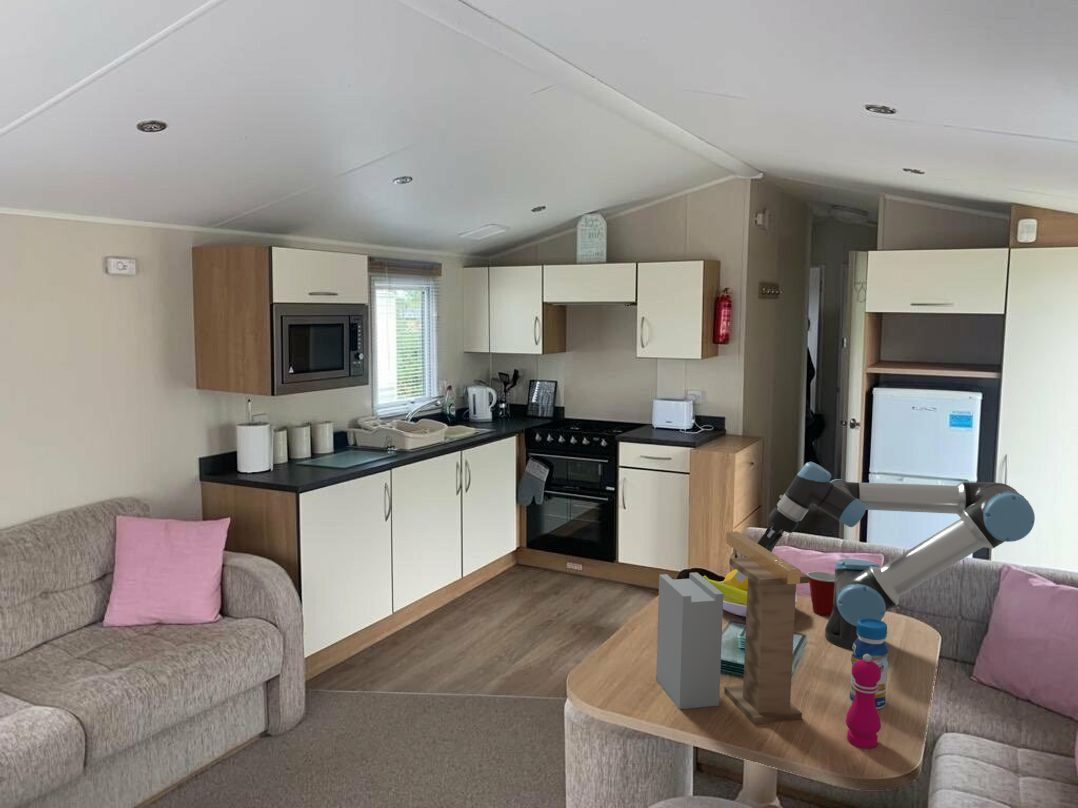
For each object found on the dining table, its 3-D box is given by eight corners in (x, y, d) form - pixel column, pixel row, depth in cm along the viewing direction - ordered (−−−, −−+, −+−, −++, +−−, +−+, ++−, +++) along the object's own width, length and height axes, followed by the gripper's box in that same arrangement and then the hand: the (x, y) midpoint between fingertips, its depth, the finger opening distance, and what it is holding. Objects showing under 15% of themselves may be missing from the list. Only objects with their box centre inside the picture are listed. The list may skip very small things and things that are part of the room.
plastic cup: (845, 610, 271) (847, 573, 270) (836, 621, 262) (839, 582, 261) (810, 603, 277) (811, 567, 275) (800, 614, 268) (802, 576, 266)
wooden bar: (726, 543, 222) (726, 531, 222) (737, 542, 223) (737, 531, 223) (787, 584, 191) (788, 571, 191) (799, 583, 192) (800, 570, 192)
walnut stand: (724, 692, 214) (729, 558, 210) (769, 688, 217) (775, 555, 212) (753, 724, 198) (760, 579, 194) (801, 719, 201) (809, 576, 197)
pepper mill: (884, 750, 188) (890, 661, 185) (850, 749, 188) (856, 660, 185) (872, 733, 195) (878, 647, 192) (840, 732, 195) (845, 647, 193)
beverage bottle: (889, 700, 211) (895, 621, 208) (881, 714, 204) (886, 632, 201) (853, 691, 216) (858, 613, 213) (844, 704, 209) (849, 624, 206)
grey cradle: (656, 679, 221) (659, 574, 217) (693, 676, 223) (697, 572, 219) (679, 709, 205) (683, 596, 202) (719, 705, 207) (723, 593, 204)
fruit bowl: (795, 600, 280) (796, 566, 278) (796, 631, 254) (797, 594, 252) (706, 591, 287) (707, 558, 286) (698, 621, 261) (700, 584, 260)
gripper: (785, 501, 248) (744, 560, 254) (765, 510, 226) (720, 574, 232) (808, 517, 246) (766, 576, 251) (790, 527, 223) (744, 592, 229)
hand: (744, 575), depth 241 cm, fingers open, 13 cm apart
